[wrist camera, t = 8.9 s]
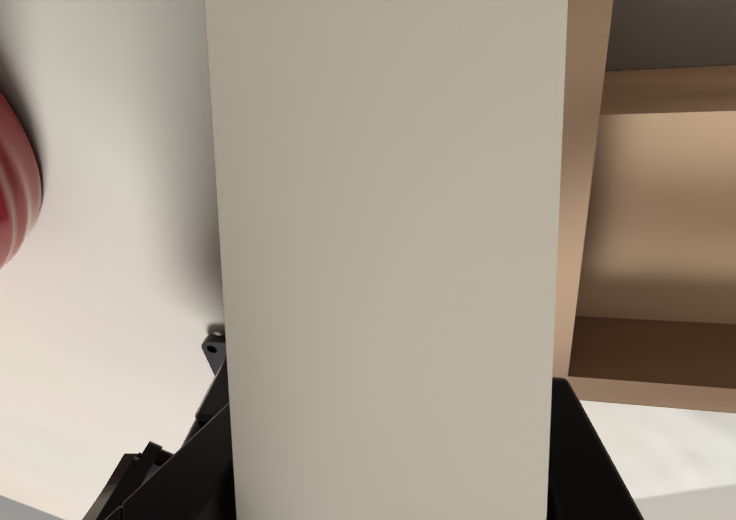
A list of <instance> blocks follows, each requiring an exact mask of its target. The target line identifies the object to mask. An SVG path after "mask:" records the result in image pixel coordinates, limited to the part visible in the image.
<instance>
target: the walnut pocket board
mask: <svg viewBox="0 0 736 520" xmlns="http://www.w3.org/2000/svg"><path fill="white" fill-rule="evenodd" d="M612 9H613V0H568V12H567V36H566V60H565V84H564V108H563V132H562V156H561V180H560V204H559V228H558V252H557V276H556V300H555V324H554V348H553V372H552V377H561V378H565V379H566V380H567V381H568V382H569V383H570V385H571V387H572V389H573V390H574V392H575V394H576V396H577V398H578V400H585V401H596V402H608V403H620V404H632V405H643V406H655V407H667V408H679V409H690V410H702V411H714V412H726V413H736V65H724V66H704V67H683V68H662V69H641V70H621V71H605V66H606V58H607V50H608V42H609V33H610V25H611V17H612Z"/></svg>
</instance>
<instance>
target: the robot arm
mask: <svg viewBox="0 0 736 520" xmlns="http://www.w3.org/2000/svg"><path fill="white" fill-rule="evenodd" d="M202 349H203V351H204V354H205V356H206V358H207V360H208V362H209V364H210V367H211V369H212V371H213V373H214V375H215V378H214V380H213V382H212V383H211V385H210V387H209V389H208V391H207V393H206V395H205V397H204V399H203V401H202V403H201V405H200V407H199V408H198V410H197V412H196V415H195V418H196V419H195V421H194V423H193V425H192V427H191V429H190V431H189V433H188V435H187V437H186V439H185V441H184V443H183V444H182V446H181V448H180V449H179V450H178V451H177V452H176V453H175V454H172V453H170V452H167V451H165V450H163V449H162V446H160V445H158V444H155V443H153V442H151V441H150V442H149V443H148V445H147V446H146V448H145V450H144V451H143V453H140V452H139V454H124V455H123V457H122V459H121V461H120V462H119V464H118V466H117V467H116V469H115V471H114V472H113V474H112V476H111V477H110V479H109V481H108V482H107V484H106V486H105V487H104V489H103V490H102V492H101V494H100V495H99V497H98V498H97V499H96V501H95V502H94V504H93V505H92V507H91V508H90V509H89V511H88V512H87V514H86V515H85V517H84V518H83V519H82V520H237V516H236V500H235V484H234V468H233V451H232V435H231V419H230V402H229V386H228V370H227V354H226V337H225V336H215V335H211V336H207V337H206V339H205V340H204V342H203V344H202ZM546 520H644V518H643V517H642V515H641V513H640V511H639V509H638V507H637V506H636V504H635V502H634V500H633V498H632V496H631V495H630V493H629V491H628V489H627V487H626V485H625V484H624V482H623V480H622V478H621V476H620V474H619V473H618V471H617V469H616V467H615V465H614V464H613V462H612V460H611V458H610V456H609V454H608V453H607V451H606V449H605V447H604V445H603V443H602V442H601V440H600V438H599V436H598V434H597V432H596V431H595V429H594V427H593V425H592V423H591V421H590V420H589V418H588V416H587V414H586V412H585V411H584V409H583V407H582V405H581V403H580V401H579V400H578V398H577V396H576V394H575V392H574V390H573V389H572V387H571V385H570V383H569V382H568V381H567V380H566V379H565V378H561V377H552V397H551V421H550V445H549V469H548V493H547V517H546Z"/></svg>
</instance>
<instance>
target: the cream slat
mask: <svg viewBox="0 0 736 520" xmlns="http://www.w3.org/2000/svg"><path fill="white" fill-rule="evenodd" d="M205 12H206V28H207V45H208V61H209V77H210V94H211V110H212V126H213V142H214V159H215V175H216V191H217V207H218V224H219V240H220V256H221V272H222V289H223V305H224V321H225V337H226V354H227V370H228V386H229V402H230V419H231V435H232V451H233V468H234V484H235V500H236V516H237V520H546V517H547V493H548V469H549V445H550V421H551V397H552V372H553V348H554V324H555V300H556V276H557V252H558V228H559V204H560V180H561V156H562V132H563V108H564V84H565V60H566V36H567V12H568V0H205Z"/></svg>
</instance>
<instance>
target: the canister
mask: <svg viewBox="0 0 736 520" xmlns="http://www.w3.org/2000/svg"><path fill="white" fill-rule="evenodd" d="M40 206H41V181H40V175H39V170H38V166H37V162H36V159H35V156H34V153H33V150H32V148H31V145H30V143H29V140H28V138H27V136H26V134H25V132H24V129H23V127H22V126H21V124H20V122H19V120H18V118H17V116H16V115H15V113H14V111H13V110H12V108H11V106H10V105H9V103H8V102H7V100H6V99H5V97H4V96H3V94H2V93H1V91H0V269H1V268H2V267H3V265H4V264H6V263H7V262H8V261H10V260H11V259H12V258H13V257H14V255H15V254H16V253H17V252H18V250H19V249H20V247H21V245H22V243H23V241H24V238H25V236H26V235H27V234H28V233H29V232H30V231H31V229H32V228H33V226H34V225H35V223H36V220H37V218H38V215H39V211H40Z"/></svg>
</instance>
